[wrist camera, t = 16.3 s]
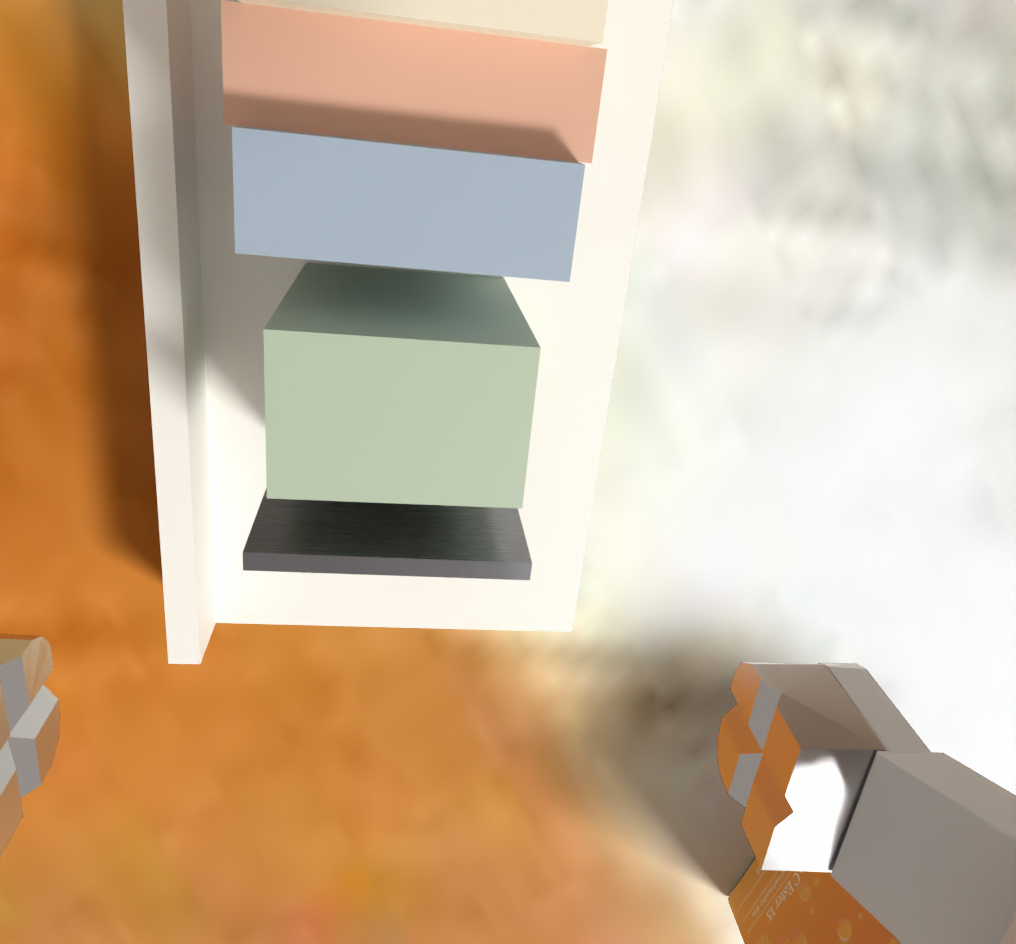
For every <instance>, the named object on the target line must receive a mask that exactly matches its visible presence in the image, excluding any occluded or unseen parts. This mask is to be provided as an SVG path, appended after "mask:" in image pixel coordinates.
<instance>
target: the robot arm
mask: <svg viewBox="0 0 1016 944" xmlns="http://www.w3.org/2000/svg"><path fill="white" fill-rule="evenodd" d="M53 668H54V665H53V659H52V654H51V648H50V643H49V642H48V641H47V640H46V639H44V638H43V637H42V636H31V635H14V634H0V857H1V855H2V854H3V852H4V850H5V848H6V847H7V845H8V843H9V841H10V839H11V838H12V836H13V834H14V832H15V831H16V829H17V827H18V825H19V823H20V822H21V820H22V818H23V811H22V805H21V797H23V796H24V795H26V794H27V793H29V792H30V791H32V790H33V789H35V788H36V787H38V786H40V785H41V784H42V782H43V780H44V778H45V776H46V774H47V772H48V770H49V769H50V767H51V765H52V762H53V758H54V755H55V751H56V747H57V744H58V740H59V731H60V710H59V702H58V699H57V698H56V697H55V696H54V695H53V694H52V693H51V692H50V691H49V690H48V689H47V688H46V687H45V686H44V685H43V684H44V682H45V681H46V679H47V677H48V676H49V674H50V673H51V671H52V670H53ZM730 689H731V691H732V693H733V695H734V697H735V699H736V701H737V703H738V704H737V705H736V706H735V707H733V708H732V709H731V710H730V711H729V712H728V713H727V714H726V715H725V716H723V717H722V722H721V726H720V730H719V735H718V739H717V741H718V765H719V769H720V774H721V778H722V780H723V783H724V785H725V788H726V790H727V793H728V795H730V796H731V797H732V798H733V799H735V800H736V801H737V802H738V803H740V804H741V805H742V806H743V807H745V812H744V815H743V818H742V822H741V825H742V827H743V830H744V832H745V834H746V836H747V839H748V841H749V843H750V845H751V848H752V850H753V852H754V854H755V857H756V859H757V861H758V863H759V866H760V868H761V870H779V871H810V872H832V873H831V875H830V876H831V877H832V878H833V879H835V880H836V881H837V882H838V883H839V884H840V885H841V886H842V887H843V888H844V889H845V890H846V891H847V892H848V893H849V894H850V895H851V896H853V897H854V898H855V899H856V900H857V901H858V902H859V903H860V904H861V905H862V906H863V907H864V908H865V909H866V910H867V911H868V912H869V913H871V914H872V915H873V916H874V917H875V918H876V919H877V920H878V921H879V922H880V923H881V924H882V925H883V926H884V927H885V928H886V929H887V930H889V931H890V932H891V933H892V934H893V935H894V936H895V937H896V938H897V939H898V940H899V941H900V942H901V943H902V944H1016V795H1014V794H1012V793H1010V792H1009V791H1007V790H1005V789H1004V788H1002V787H1000V786H999V785H997V784H995V783H994V782H992V781H990V780H988V779H987V778H985V777H983V776H982V775H980V774H978V773H977V772H975V771H973V770H971V769H970V768H968V767H966V766H965V765H963V764H961V763H960V762H958V761H956V760H955V759H953V758H951V757H949V756H948V755H946V754H944V753H933V752H930V750H929V749H928V748H927V746H926V745H925V744H924V743H923V741H922V740H921V739H920V737H919V736H918V735H917V734H916V732H915V731H914V730H913V728H912V727H911V726H910V725H909V723H908V722H907V721H906V719H905V718H904V717H903V716H902V714H901V713H900V712H899V710H898V709H897V708H896V707H895V705H894V704H893V703H892V701H891V700H890V699H889V698H888V696H887V695H886V694H885V692H884V691H883V690H882V688H881V687H880V686H879V685H878V683H877V682H876V681H875V679H874V678H873V677H872V676H871V674H870V673H869V672H868V670H867V669H865V668H864V667H862V666H860V665H858V664H857V663H818V664H786V663H751V662H741V664H740V665H739V667H738V668H737V670H736V671H735V674H734V677H733V681H732V684H731V688H730Z"/></svg>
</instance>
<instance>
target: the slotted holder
mask: <svg viewBox="0 0 1016 944" xmlns="http://www.w3.org/2000/svg"><path fill="white" fill-rule="evenodd" d="M122 1H123V15H124V30H125V44H126V59H127V73H128V87H129V102H130V116H131V130H132V145H133V159H134V174H135V188H136V202H137V217H138V231H139V246H140V260H141V274H142V289H143V303H144V317H145V332H146V346H147V361H148V375H149V389H150V404H151V418H152V433H153V447H154V461H155V476H156V490H157V504H158V519H159V533H160V548H161V562H162V576H163V591H164V605H165V620H166V634H167V648H168V663H169V664H200V663H201V661H202V658H203V655H204V653H205V650H206V647H207V644H208V642H209V639H210V636H211V634H212V631H213V628H214V626H215V623H246V624H285V625H323V626H362V627H401V628H439V629H478V630H517V631H555V632H572V629H573V623H574V617H575V611H576V604H577V598H578V592H579V586H580V580H581V573H582V567H583V561H584V555H585V549H586V542H587V536H588V530H589V524H590V518H591V511H592V505H593V499H594V493H595V487H596V480H597V474H598V468H599V462H600V456H601V449H602V443H603V437H604V431H605V424H606V418H607V412H608V406H609V400H610V393H611V387H612V381H613V375H614V369H615V362H616V356H617V350H618V344H619V338H620V331H621V325H622V319H623V313H624V307H625V300H626V294H627V288H628V282H629V276H630V269H631V263H632V257H633V251H634V245H635V238H636V232H637V226H638V220H639V214H640V207H641V201H642V195H643V189H644V183H645V176H646V170H647V164H648V158H649V151H650V145H651V139H652V133H653V127H654V120H655V114H656V108H657V102H658V96H659V89H660V83H661V77H662V71H663V65H664V58H665V52H666V46H667V40H668V34H669V27H670V21H671V15H672V9H673V3H674V0H122ZM305 263H318V264H331V265H344V266H357V267H369V268H382V269H395V270H408V271H421V272H434V273H446V274H459V275H472V276H485V277H498V278H504V279H505V281H506V283H507V285H508V287H509V289H510V291H511V292H512V294H513V296H514V298H515V300H516V302H517V304H518V306H519V308H520V310H521V311H522V313H523V315H524V317H525V319H526V321H527V323H528V325H529V327H530V328H531V330H532V332H533V334H534V336H535V338H536V340H537V342H538V344H539V345H540V347H541V350H540V358H539V367H538V376H537V384H536V393H535V402H534V410H533V419H532V427H531V436H530V445H529V453H528V462H527V471H526V479H525V488H524V497H523V505H522V508H497V507H472V506H446V505H421V504H396V503H371V502H346V501H320V500H295V499H270V498H267V483H266V434H265V385H264V336H263V329H264V327H265V326H266V324H267V323H268V321H269V320H270V318H271V316H272V315H273V313H274V312H275V310H276V309H277V307H278V306H279V304H280V302H281V301H282V299H283V298H284V296H285V295H286V293H287V291H288V290H289V288H290V287H291V285H292V284H293V282H294V280H295V279H296V277H297V276H298V274H299V273H300V271H301V269H302V268H303V266H304V265H305Z"/></svg>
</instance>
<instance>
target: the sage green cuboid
mask: <svg viewBox="0 0 1016 944" xmlns="http://www.w3.org/2000/svg"><path fill="white" fill-rule="evenodd" d="M263 336H264V385H265V434H266V483H267V498H270V499H295V500H320V501H346V502H371V503H396V504H421V505H446V506H472V507H497V508H522V505H523V497H524V488H525V479H526V471H527V462H528V453H529V445H530V436H531V427H532V419H533V410H534V402H535V393H536V384H537V376H538V367H539V358H540V350H541V347H540V345H539V344H538V342H537V340H536V338H535V336H534V334H533V332H532V330H531V328H530V327H529V325H528V323H527V321H526V319H525V317H524V315H523V313H522V311H521V310H520V308H519V306H518V304H517V302H516V300H515V298H514V296H513V294H512V292H511V291H510V289H509V287H508V285H507V283H506V281H505V279H504V278H498V277H485V276H472V275H459V274H446V273H434V272H421V271H408V270H395V269H382V268H369V267H357V266H344V265H331V264H318V263H305V265H304V266H303V268H302V269H301V271H300V273H299V274H298V276H297V277H296V279H295V280H294V282H293V284H292V285H291V287H290V288H289V290H288V291H287V293H286V295H285V296H284V298H283V299H282V301H281V302H280V304H279V306H278V307H277V309H276V310H275V312H274V313H273V315H272V316H271V318H270V320H269V321H268V323H267V324H266V326H265V327H264V329H263Z"/></svg>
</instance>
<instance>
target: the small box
mask: <svg viewBox="0 0 1016 944" xmlns="http://www.w3.org/2000/svg"><path fill="white" fill-rule="evenodd" d="M831 873H832V872H810V871H779V870H761V868H760V866H759V863H758V861H757V859H755V860H754V861H753V863H752V864H751V866H750V867H749V869H748V870H747V872H746V873H745V874H744V876H743V877H742V879H741V880H740V882H739V883H738V884H737V886H736V887H735V888H734V889H733V890H732V892H731V893H730V895H729V897H728V901H729V904H730V907H731V909H732V912H733V914H734V917H735V920H736V922H737V925H738V927H739V930H740V933H741V935H742V938H743V940H744V943H745V944H902V943H901V942H900V941H899V940H898V939H897V938H896V937H895V936H894V935H893V934H892V933H891V932H890V931H889V930H887V929H886V928H885V927H884V926H883V925H882V924H881V923H880V922H879V921H878V920H877V919H876V918H875V917H874V916H873V915H872V914H871V913H869V912H868V911H867V910H866V909H865V908H864V907H863V906H862V905H861V904H860V903H859V902H858V901H857V900H856V899H855V898H854V897H853V896H851V895H850V894H849V893H848V892H847V891H846V890H845V889H844V888H843V887H842V886H841V885H840V884H839V883H838V882H837V881H836V880H835V879H833V878H832V877H831V876H830V875H831Z"/></svg>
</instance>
